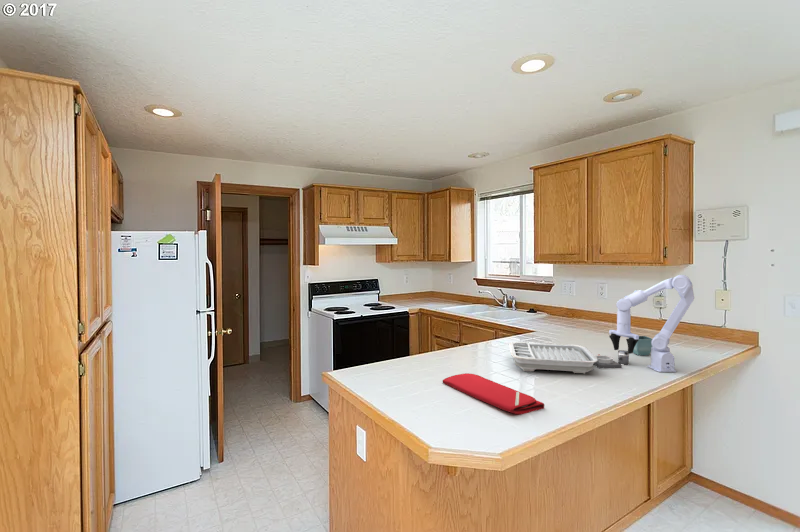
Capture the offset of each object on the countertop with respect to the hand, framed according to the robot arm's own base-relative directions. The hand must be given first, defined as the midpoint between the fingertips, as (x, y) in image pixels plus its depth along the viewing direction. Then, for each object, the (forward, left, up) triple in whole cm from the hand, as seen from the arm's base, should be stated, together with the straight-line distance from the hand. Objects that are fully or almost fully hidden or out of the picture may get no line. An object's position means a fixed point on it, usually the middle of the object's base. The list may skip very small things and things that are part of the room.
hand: (623, 351), depth 198 cm
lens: (0, 0, -6) cm, 6 cm away
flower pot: (+17, -18, -6) cm, 26 cm away
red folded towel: (-41, +73, -7) cm, 84 cm away
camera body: (-1, +10, -6) cm, 12 cm away
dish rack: (-3, +36, -6) cm, 37 cm away
